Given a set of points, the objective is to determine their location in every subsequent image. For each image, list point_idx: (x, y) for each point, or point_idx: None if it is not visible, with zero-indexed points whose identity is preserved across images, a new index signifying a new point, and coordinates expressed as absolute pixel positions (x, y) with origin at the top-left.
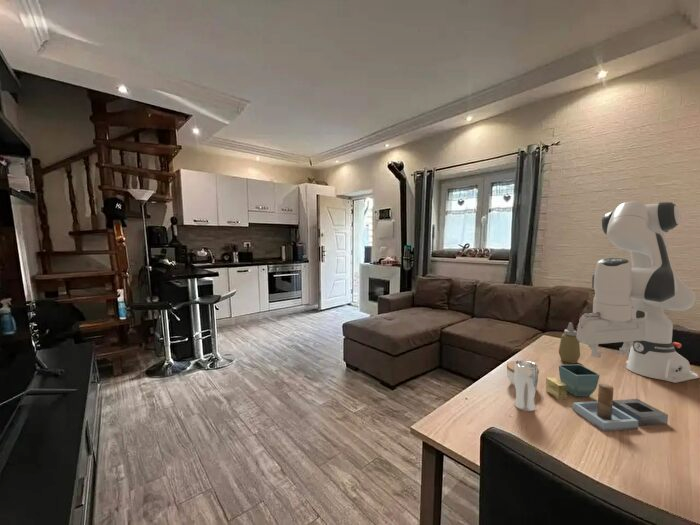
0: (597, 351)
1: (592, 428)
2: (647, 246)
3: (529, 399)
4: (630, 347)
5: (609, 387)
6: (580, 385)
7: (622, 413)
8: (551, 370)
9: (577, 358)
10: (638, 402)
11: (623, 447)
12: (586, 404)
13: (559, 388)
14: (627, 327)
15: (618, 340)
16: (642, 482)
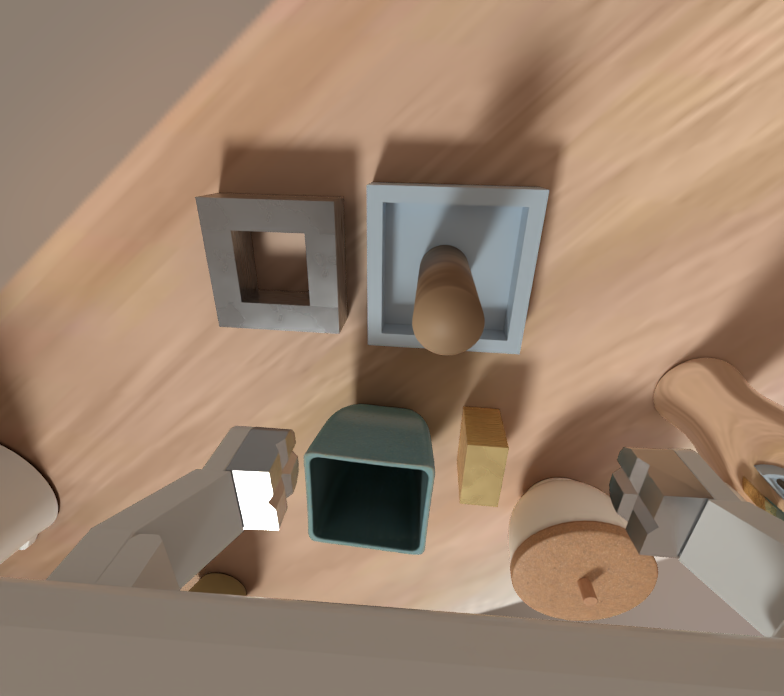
0: (747, 510)
1: (567, 212)
2: None
3: (749, 389)
4: (169, 491)
5: (442, 307)
6: (409, 431)
7: (382, 246)
8: (340, 556)
9: (200, 589)
10: (239, 302)
11: (576, 61)
12: None
13: (503, 438)
14: None
15: (439, 657)
16: None
